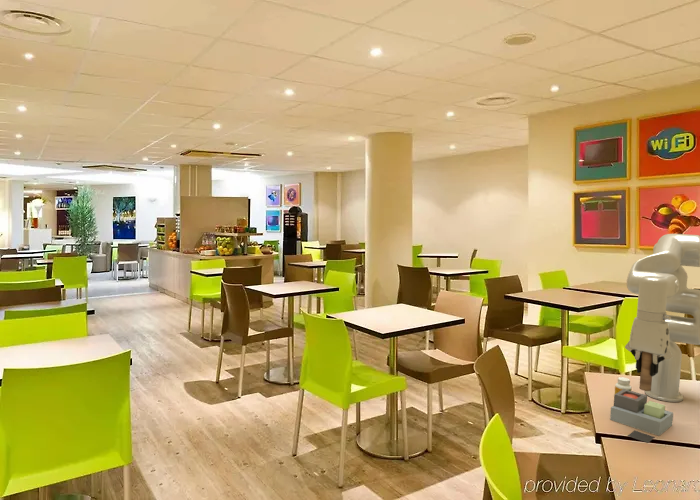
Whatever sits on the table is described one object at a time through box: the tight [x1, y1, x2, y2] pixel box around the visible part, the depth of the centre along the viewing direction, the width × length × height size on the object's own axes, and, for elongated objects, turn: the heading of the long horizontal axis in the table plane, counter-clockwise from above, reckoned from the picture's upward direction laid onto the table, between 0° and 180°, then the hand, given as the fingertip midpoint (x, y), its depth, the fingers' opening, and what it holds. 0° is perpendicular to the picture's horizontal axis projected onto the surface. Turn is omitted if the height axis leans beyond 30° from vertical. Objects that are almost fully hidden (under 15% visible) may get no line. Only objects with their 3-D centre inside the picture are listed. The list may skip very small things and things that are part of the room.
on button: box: [644, 400, 666, 419], centre depth 168 cm, size 5×5×5 cm
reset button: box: [624, 394, 638, 399], centre depth 174 cm, size 4×4×5 cm
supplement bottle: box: [614, 376, 632, 394], centre depth 188 cm, size 5×5×10 cm
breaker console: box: [609, 389, 674, 437], centre depth 171 cm, size 12×15×9 cm
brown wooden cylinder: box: [639, 351, 653, 392], centre depth 159 cm, size 3×3×14 cm
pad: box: [627, 430, 655, 444], centre depth 161 cm, size 6×6×1 cm
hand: (646, 372), depth 159 cm, fingers closed on brown wooden cylinder, 3 cm apart
